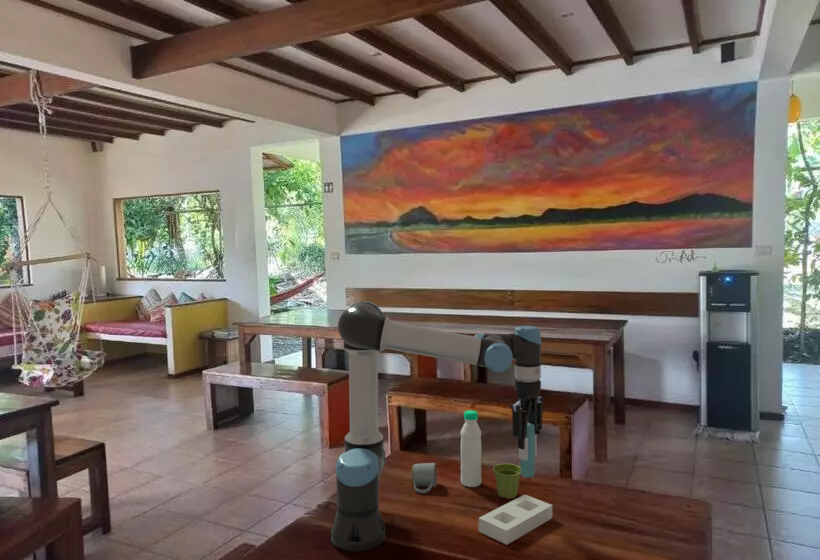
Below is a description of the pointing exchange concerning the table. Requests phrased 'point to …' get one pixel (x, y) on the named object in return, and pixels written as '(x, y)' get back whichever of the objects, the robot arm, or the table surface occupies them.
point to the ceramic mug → (424, 476)
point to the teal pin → (529, 453)
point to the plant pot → (507, 479)
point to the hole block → (515, 519)
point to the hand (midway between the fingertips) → (527, 456)
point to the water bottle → (470, 450)
